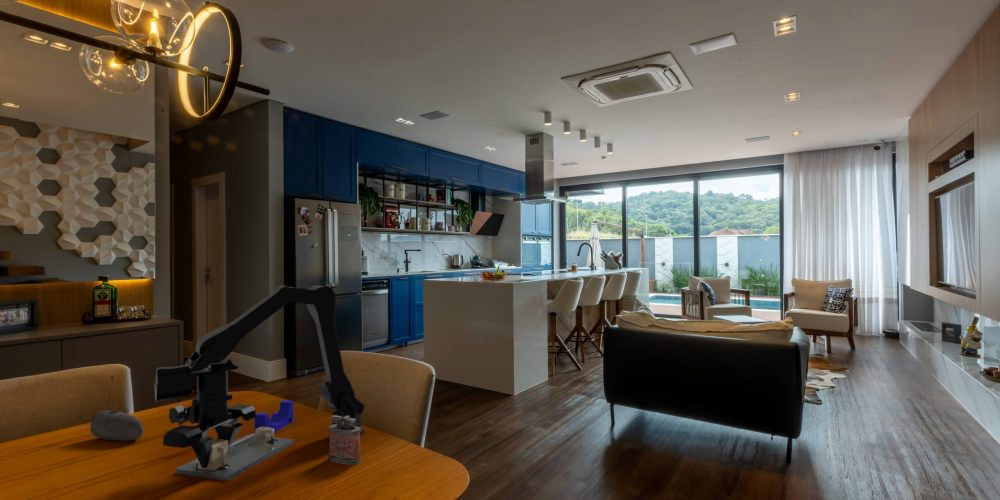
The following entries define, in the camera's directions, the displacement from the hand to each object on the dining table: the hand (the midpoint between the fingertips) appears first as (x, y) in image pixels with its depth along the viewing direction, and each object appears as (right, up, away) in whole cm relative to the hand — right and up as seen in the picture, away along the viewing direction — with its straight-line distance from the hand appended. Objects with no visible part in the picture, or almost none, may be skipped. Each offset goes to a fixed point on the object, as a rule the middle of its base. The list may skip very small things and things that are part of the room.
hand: (213, 463), depth 102 cm
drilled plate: (+2, -2, +7) cm, 7 cm away
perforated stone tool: (-35, -2, +18) cm, 40 cm away
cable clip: (+1, -2, +25) cm, 25 cm away
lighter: (+27, -2, +5) cm, 28 cm away
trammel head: (0, 0, 0) cm, 1 cm away
